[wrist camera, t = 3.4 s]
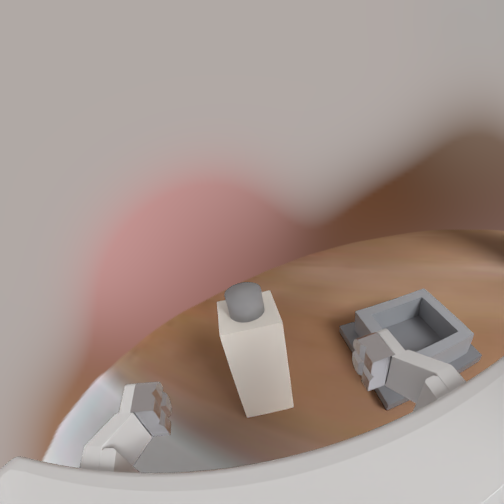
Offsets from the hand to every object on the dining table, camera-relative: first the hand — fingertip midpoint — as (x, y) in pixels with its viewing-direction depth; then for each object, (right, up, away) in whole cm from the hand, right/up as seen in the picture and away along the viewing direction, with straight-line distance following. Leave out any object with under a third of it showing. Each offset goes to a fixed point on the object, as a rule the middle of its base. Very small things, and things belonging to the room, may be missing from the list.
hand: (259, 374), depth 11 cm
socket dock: (+19, -7, +20) cm, 28 cm away
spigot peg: (+1, -11, +18) cm, 21 cm away
